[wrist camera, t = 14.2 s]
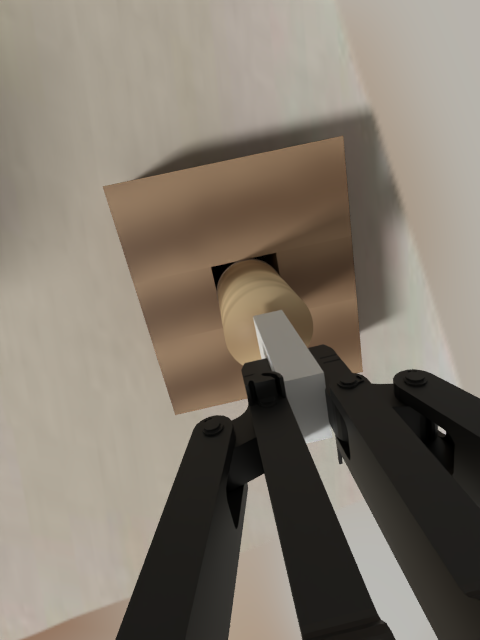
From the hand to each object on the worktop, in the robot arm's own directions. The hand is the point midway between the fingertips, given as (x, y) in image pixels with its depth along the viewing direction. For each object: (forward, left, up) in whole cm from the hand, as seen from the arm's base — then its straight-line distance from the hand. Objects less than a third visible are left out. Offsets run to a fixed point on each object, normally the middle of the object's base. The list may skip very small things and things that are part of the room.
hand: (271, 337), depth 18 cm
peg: (0, 0, -15) cm, 15 cm away
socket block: (0, 0, -15) cm, 15 cm away
